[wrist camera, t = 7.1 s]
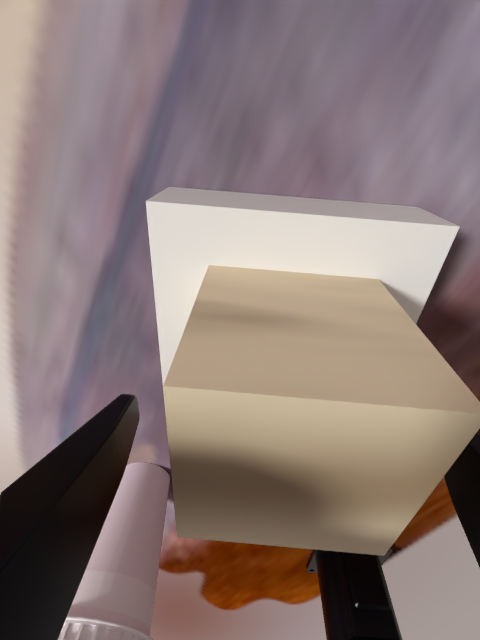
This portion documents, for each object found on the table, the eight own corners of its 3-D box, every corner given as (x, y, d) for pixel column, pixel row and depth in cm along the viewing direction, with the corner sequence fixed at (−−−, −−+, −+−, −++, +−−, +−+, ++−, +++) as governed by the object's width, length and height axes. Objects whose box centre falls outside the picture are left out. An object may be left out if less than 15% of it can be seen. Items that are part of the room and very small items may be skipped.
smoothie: (171, 446, 21) (59, 847, 9) (197, 495, 24) (140, 839, 13) (89, 455, 22) (-105, 825, 10) (125, 501, 25) (9, 823, 14)
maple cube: (337, 399, 14) (384, 555, 9) (206, 387, 14) (177, 536, 9) (378, 279, 11) (489, 414, 5) (208, 265, 11) (162, 385, 6)
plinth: (351, 387, 17) (367, 431, 15) (179, 373, 17) (165, 414, 15) (417, 207, 12) (459, 226, 10) (169, 186, 12) (145, 200, 10)
